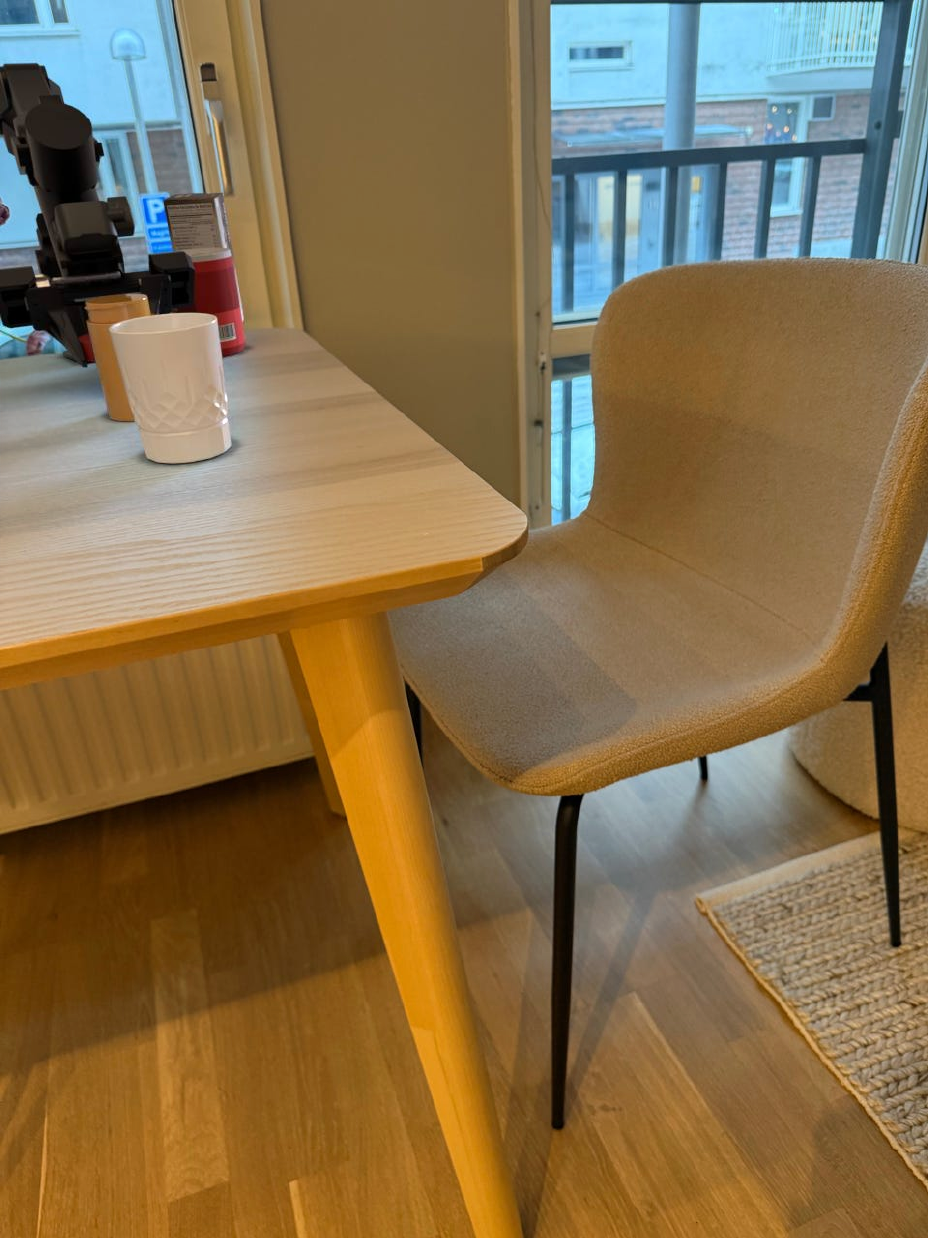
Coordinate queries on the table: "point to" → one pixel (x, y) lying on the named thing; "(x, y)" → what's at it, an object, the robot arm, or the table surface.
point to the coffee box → (199, 223)
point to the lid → (87, 347)
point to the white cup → (175, 384)
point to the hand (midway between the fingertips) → (120, 359)
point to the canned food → (217, 295)
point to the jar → (100, 319)
